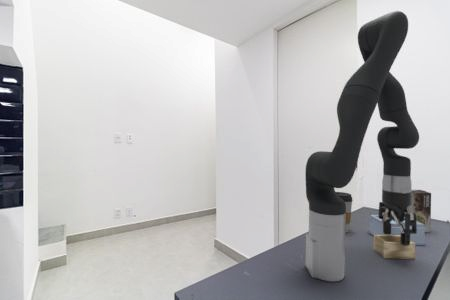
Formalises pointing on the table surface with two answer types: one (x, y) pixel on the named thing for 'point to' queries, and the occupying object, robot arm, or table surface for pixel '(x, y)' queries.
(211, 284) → the table surface
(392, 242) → the small crate
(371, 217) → the base crate
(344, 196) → the coffee cup
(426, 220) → the coffee box
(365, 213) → the table surface
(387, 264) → the table surface
